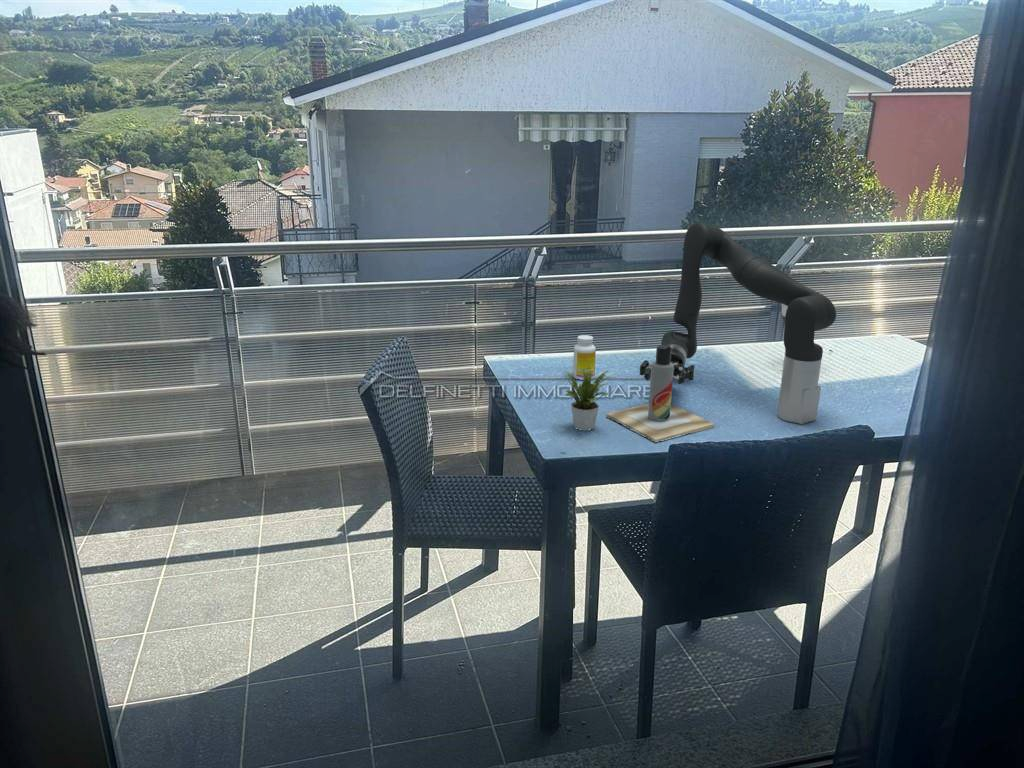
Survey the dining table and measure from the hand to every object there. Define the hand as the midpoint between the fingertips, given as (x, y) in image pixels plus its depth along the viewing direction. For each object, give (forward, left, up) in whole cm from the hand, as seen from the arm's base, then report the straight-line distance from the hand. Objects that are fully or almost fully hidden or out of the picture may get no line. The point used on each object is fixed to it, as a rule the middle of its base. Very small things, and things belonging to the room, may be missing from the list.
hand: (663, 378), depth 207 cm
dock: (-1, +2, -11) cm, 12 cm away
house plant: (+5, +21, -12) cm, 24 cm away
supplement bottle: (+38, -2, -12) cm, 40 cm away
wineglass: (+12, -64, -12) cm, 66 cm away
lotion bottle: (-1, +2, -10) cm, 11 cm away
